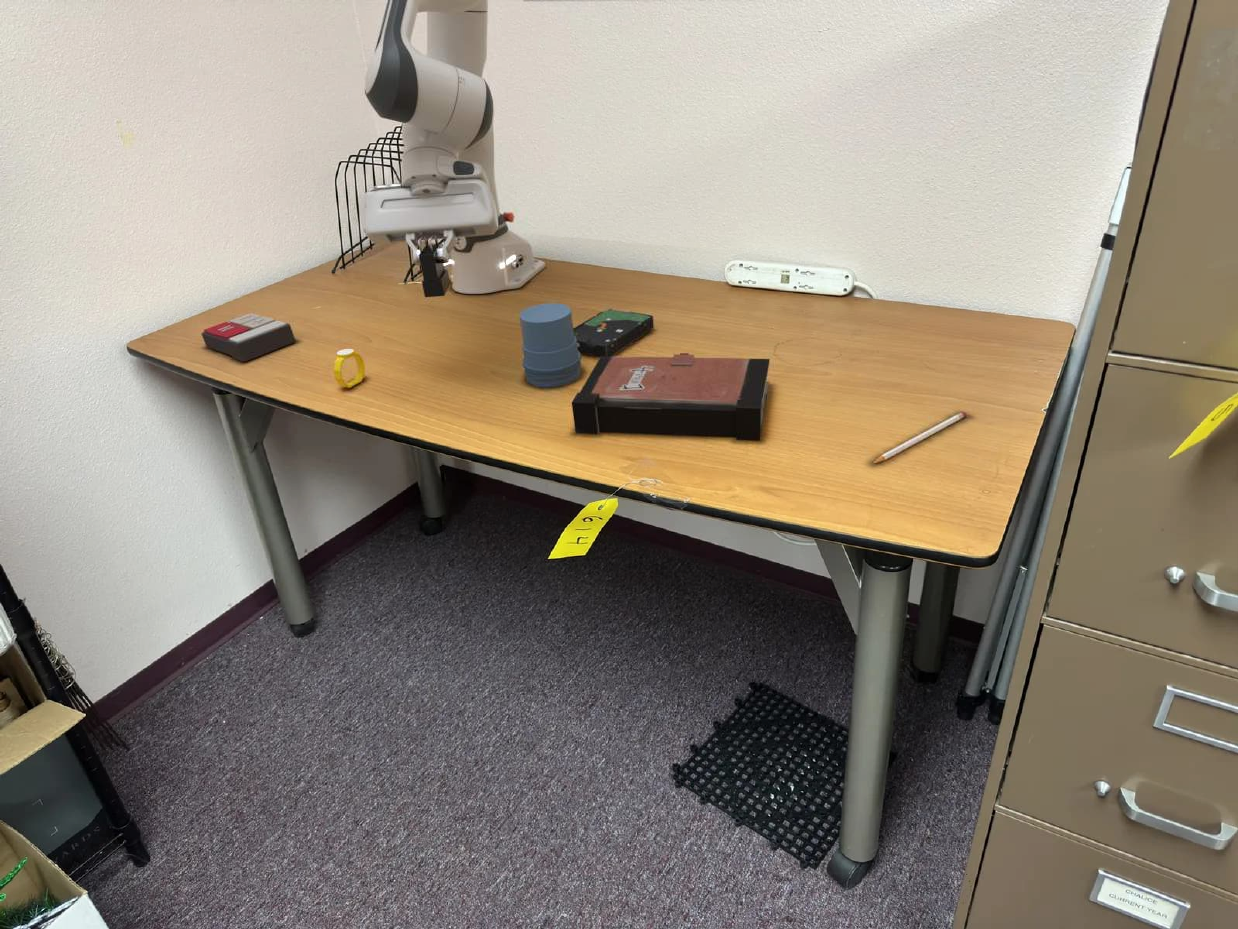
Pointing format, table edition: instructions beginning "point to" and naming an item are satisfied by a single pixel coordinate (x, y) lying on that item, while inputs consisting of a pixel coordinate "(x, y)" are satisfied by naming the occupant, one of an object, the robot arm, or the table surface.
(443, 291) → the clip
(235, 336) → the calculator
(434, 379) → the table surface
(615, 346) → the disk drive
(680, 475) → the table surface
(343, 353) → the watch
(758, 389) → the book
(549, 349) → the cup stack
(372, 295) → the table surface
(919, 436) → the pencil
